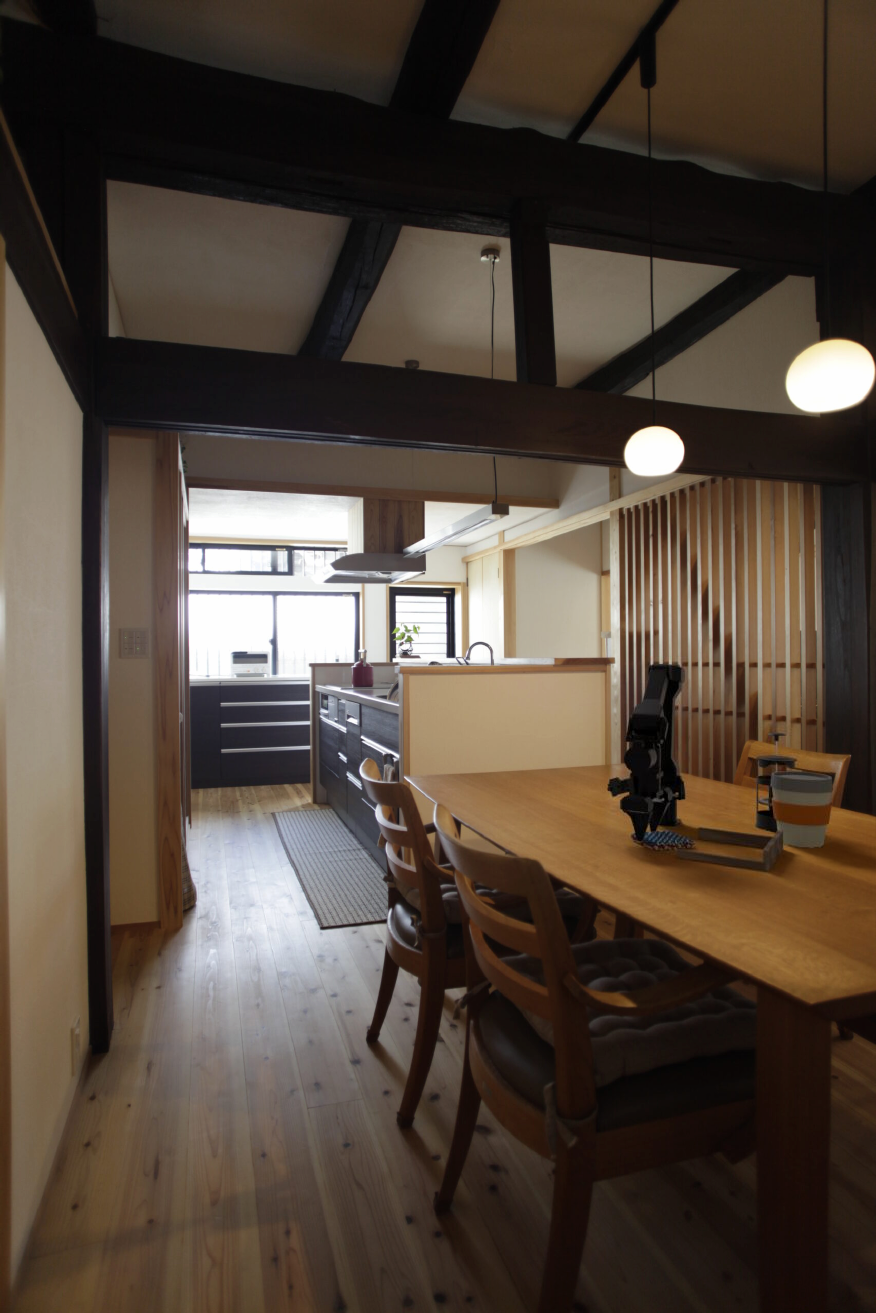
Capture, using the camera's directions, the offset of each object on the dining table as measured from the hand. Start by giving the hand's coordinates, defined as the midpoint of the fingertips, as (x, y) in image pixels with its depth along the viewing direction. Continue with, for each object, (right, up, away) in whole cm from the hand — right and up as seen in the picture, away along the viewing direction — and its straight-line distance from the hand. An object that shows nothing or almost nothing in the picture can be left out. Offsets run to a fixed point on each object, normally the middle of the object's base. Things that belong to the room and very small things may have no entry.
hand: (646, 836), depth 163 cm
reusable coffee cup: (+34, -1, -1) cm, 34 cm away
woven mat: (+3, -2, -2) cm, 4 cm away
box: (+14, -1, -9) cm, 17 cm away
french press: (+36, -1, +14) cm, 38 cm away
